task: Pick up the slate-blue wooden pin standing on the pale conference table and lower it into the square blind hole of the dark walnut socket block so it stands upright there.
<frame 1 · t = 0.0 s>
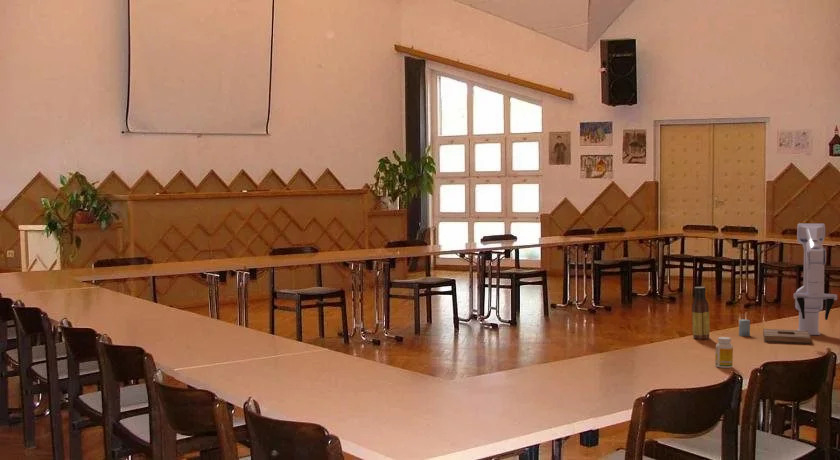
hand: (814, 318, 337), 10 cm above the table, tool pointing down, fingers open, 7 cm apart
supplement bottle: (723, 367, 304), on the table
walnut socket block: (786, 339, 351), on the table
sauce bottle: (700, 338, 356), on the table
slate pin: (744, 335, 361), on the table
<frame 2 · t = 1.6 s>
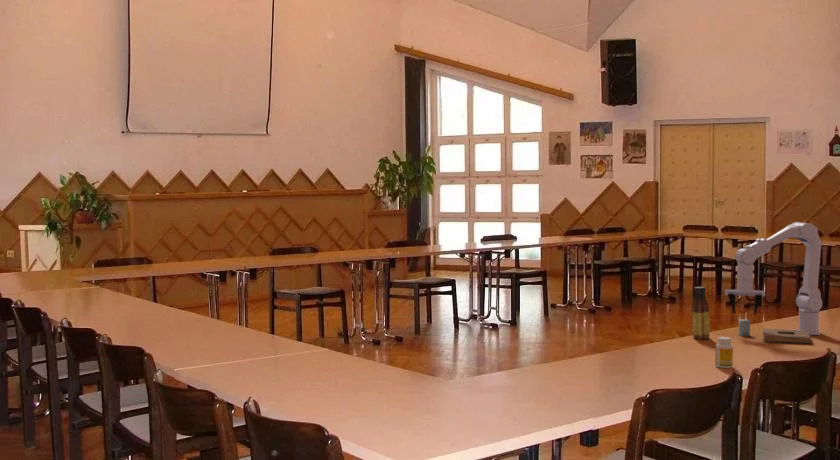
hand: (744, 313, 360), 8 cm above the table, tool pointing down, fingers open, 7 cm apart
nothing on the table moved.
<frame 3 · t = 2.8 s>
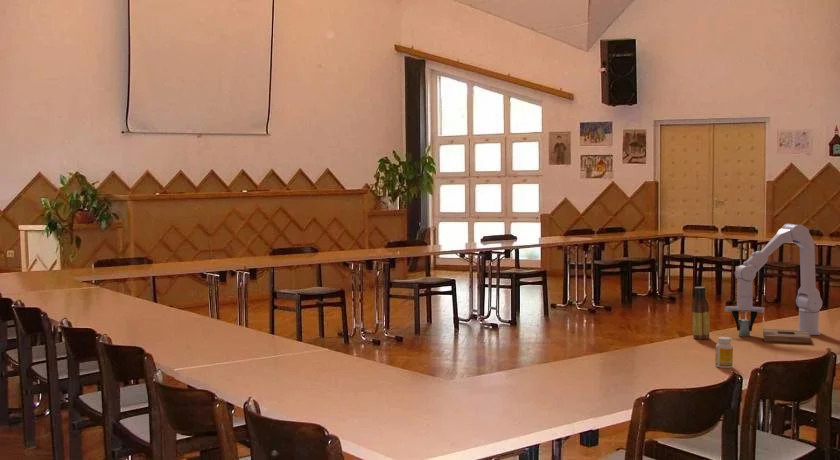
hand: (744, 330, 361), 2 cm above the table, tool pointing down, fingers closed on slate pin, 4 cm apart
slate pin: (744, 335, 361), on the table, touching gripper
everything else where it was.
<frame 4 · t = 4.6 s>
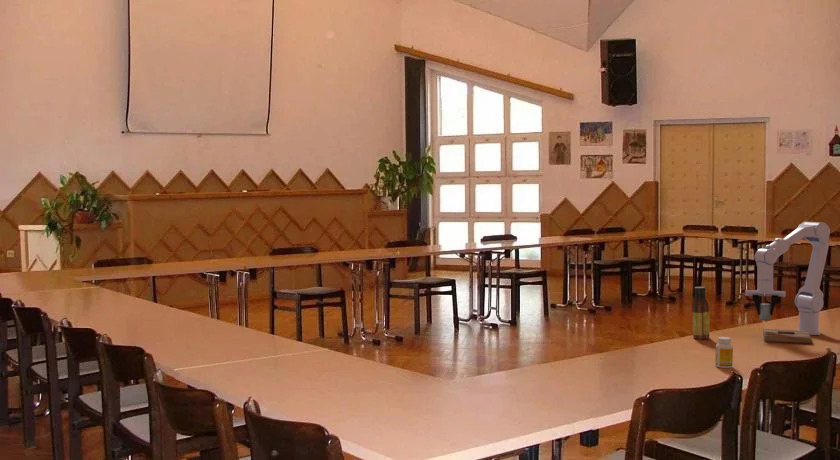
hand: (764, 314, 356), 9 cm above the table, tool pointing down, fingers closed on slate pin, 4 cm apart
slate pin: (764, 319, 356), point 7 cm above the table, touching gripper
everything else where it was.
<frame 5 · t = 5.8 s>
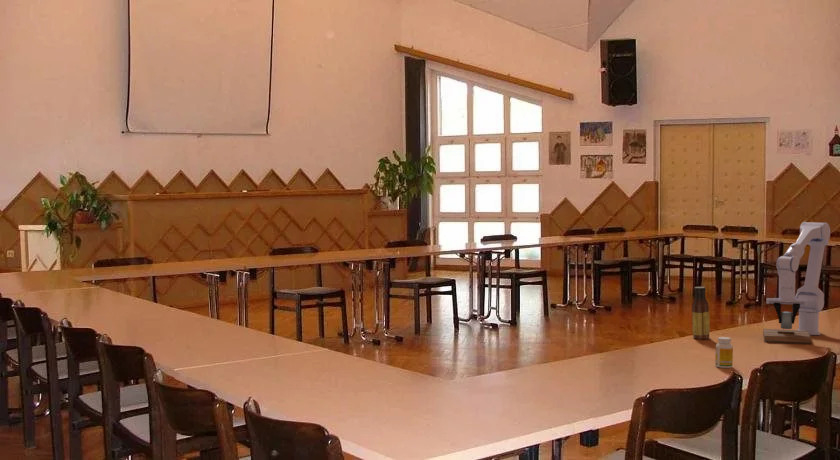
hand: (786, 323, 351), 6 cm above the table, tool pointing down, fingers closed on slate pin, 4 cm apart
slate pin: (786, 328, 351), point 4 cm above the table, touching gripper
everything else where it was.
when the fingers open (4 cm above the table, at t = 6.8 s): slate pin stays where it is, resting on walnut socket block.
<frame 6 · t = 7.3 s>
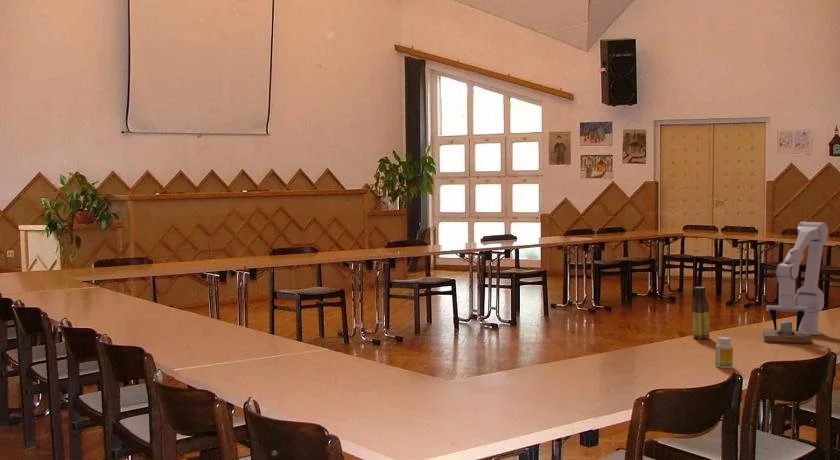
hand: (786, 330, 351), 4 cm above the table, tool pointing down, fingers open, 7 cm apart
slate pin: (786, 337, 351), point 1 cm above the table, touching walnut socket block
everything else where it was.
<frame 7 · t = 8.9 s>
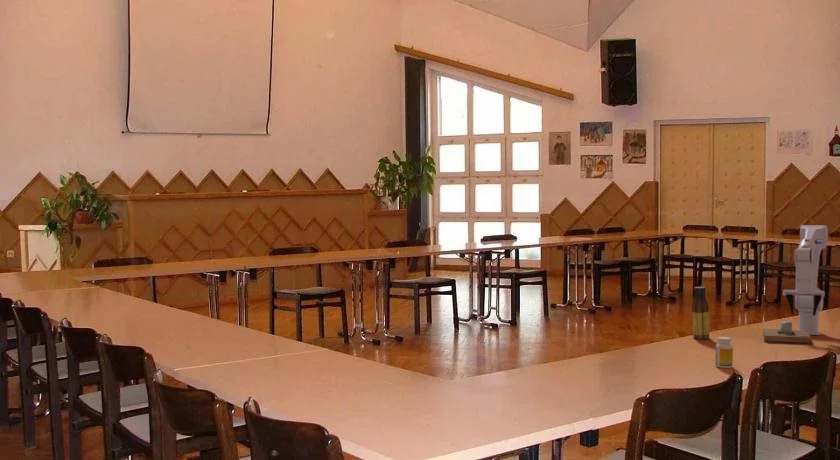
hand: (803, 314, 351), 9 cm above the table, tool pointing down, fingers open, 7 cm apart
nothing on the table moved.
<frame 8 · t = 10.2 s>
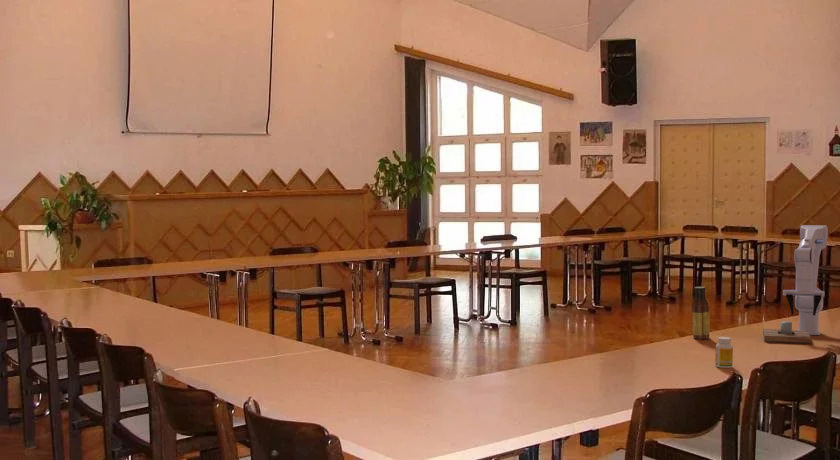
hand: (803, 314, 351), 9 cm above the table, tool pointing down, fingers open, 7 cm apart
nothing on the table moved.
at the end: slate pin 0.0 cm off-centre on the walnut socket block, point 0.6 cm above the walnut socket block's base; slate pin tilted 1°; the gripper is holding nothing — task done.
